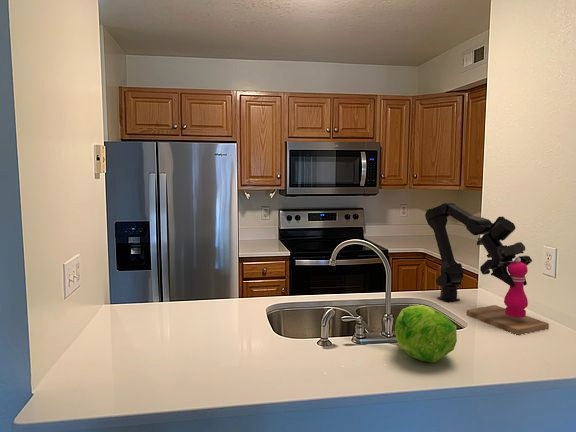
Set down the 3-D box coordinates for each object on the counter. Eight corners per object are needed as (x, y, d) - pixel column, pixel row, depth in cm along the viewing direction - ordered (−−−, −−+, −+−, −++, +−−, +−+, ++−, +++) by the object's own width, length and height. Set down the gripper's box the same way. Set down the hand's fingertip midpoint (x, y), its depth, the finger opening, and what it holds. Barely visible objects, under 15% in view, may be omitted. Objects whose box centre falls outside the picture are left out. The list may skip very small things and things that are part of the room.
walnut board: (466, 316, 156) (466, 309, 156) (495, 311, 161) (495, 305, 161) (517, 337, 136) (517, 329, 136) (548, 330, 141) (548, 323, 140)
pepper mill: (500, 314, 144) (503, 257, 142) (506, 309, 150) (509, 254, 147) (524, 319, 139) (527, 260, 137) (529, 314, 145) (532, 257, 143)
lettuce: (437, 350, 131) (442, 302, 131) (463, 374, 111) (468, 317, 111) (384, 344, 131) (388, 296, 132) (399, 367, 111) (405, 310, 111)
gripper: (487, 236, 142) (513, 275, 133) (528, 232, 149) (556, 270, 139) (469, 255, 150) (493, 293, 141) (509, 251, 157) (534, 287, 148)
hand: (519, 285), depth 142 cm, fingers closed on pepper mill, 5 cm apart
